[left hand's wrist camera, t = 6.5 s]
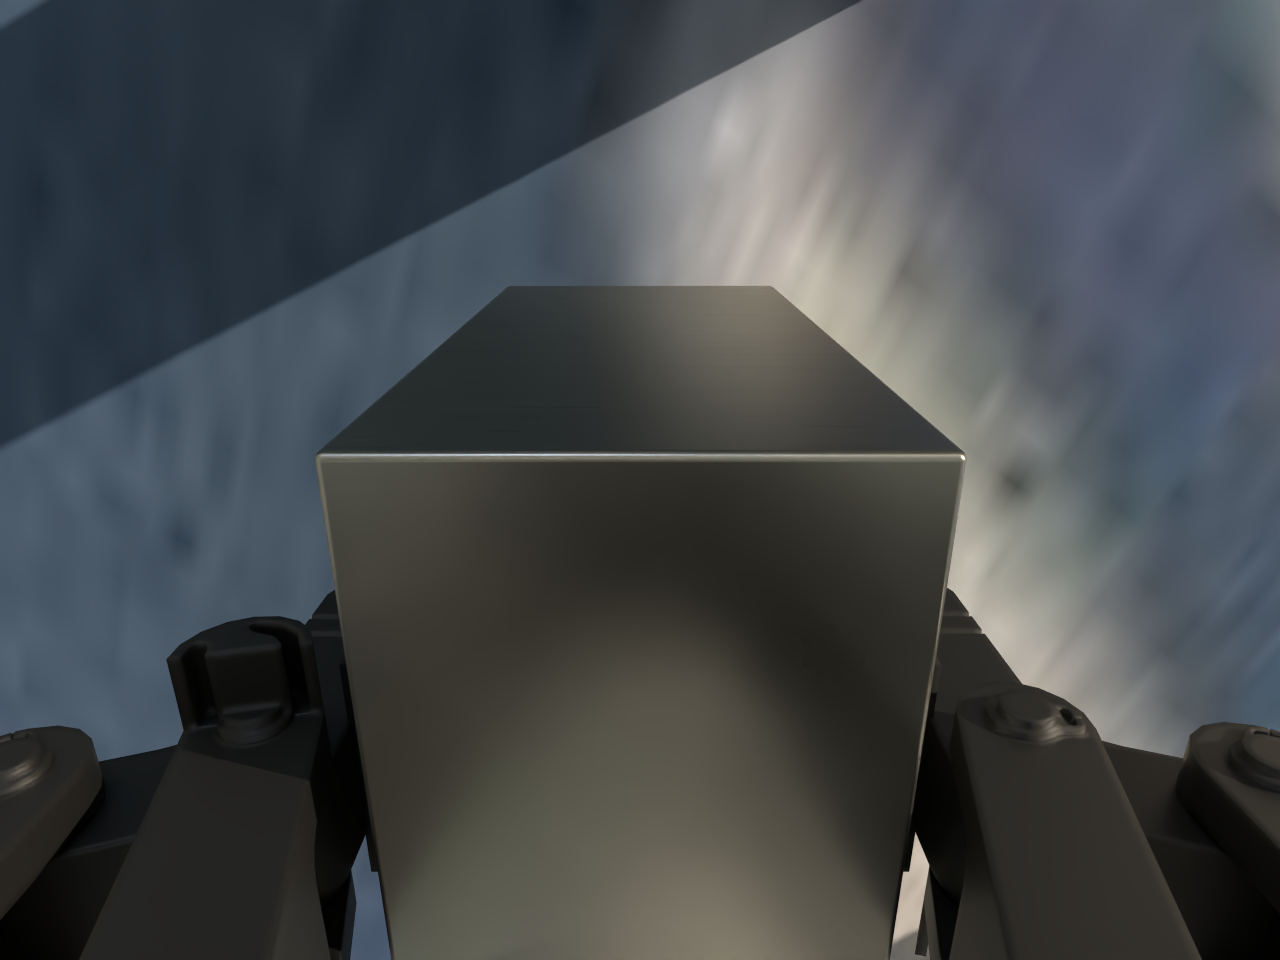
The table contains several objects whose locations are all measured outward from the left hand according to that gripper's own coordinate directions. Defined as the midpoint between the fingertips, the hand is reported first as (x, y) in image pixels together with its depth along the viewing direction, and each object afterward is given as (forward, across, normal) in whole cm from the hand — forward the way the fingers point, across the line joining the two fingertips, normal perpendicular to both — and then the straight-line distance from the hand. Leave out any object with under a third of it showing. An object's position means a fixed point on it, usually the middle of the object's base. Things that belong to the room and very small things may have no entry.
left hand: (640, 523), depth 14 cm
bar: (+1, 0, -8) cm, 8 cm away
